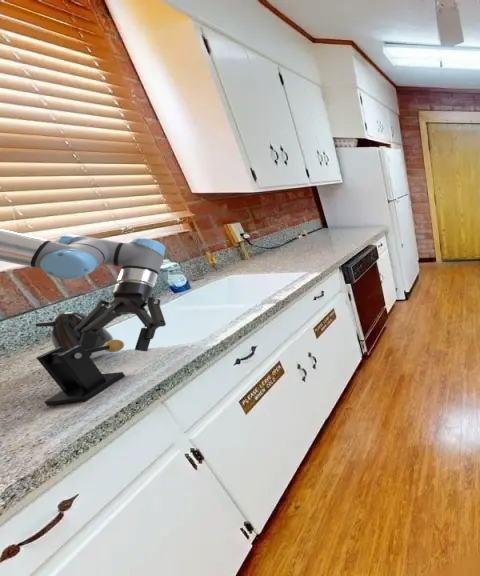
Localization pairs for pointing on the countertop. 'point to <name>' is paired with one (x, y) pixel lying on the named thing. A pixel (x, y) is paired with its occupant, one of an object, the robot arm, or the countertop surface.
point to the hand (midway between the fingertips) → (112, 353)
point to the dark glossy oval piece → (73, 332)
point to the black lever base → (76, 376)
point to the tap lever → (96, 349)
